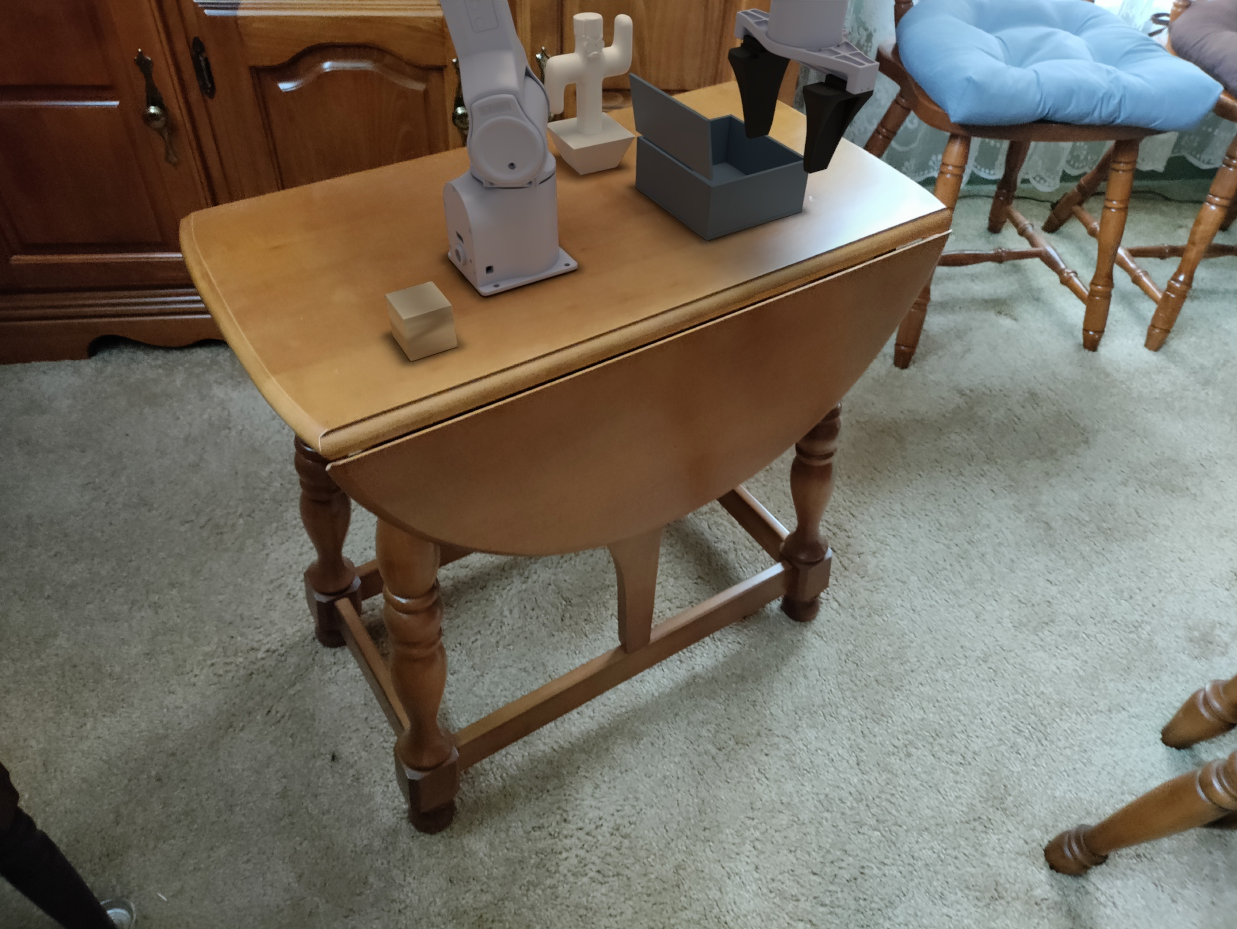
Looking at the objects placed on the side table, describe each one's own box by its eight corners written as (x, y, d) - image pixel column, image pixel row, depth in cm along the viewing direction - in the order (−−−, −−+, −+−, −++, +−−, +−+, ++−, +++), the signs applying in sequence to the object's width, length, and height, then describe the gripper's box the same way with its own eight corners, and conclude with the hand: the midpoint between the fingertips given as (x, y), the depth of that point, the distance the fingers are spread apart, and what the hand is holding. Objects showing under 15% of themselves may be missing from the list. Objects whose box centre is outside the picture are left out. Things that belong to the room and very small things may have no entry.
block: (410, 361, 68) (402, 319, 65) (392, 336, 70) (384, 294, 67) (458, 346, 69) (452, 304, 66) (438, 322, 72) (432, 280, 69)
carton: (706, 240, 82) (711, 187, 78) (635, 187, 90) (636, 136, 86) (801, 211, 87) (811, 159, 83) (726, 163, 94) (731, 113, 91)
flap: (713, 179, 78) (710, 181, 78) (638, 129, 86) (635, 130, 86) (710, 119, 74) (706, 120, 74) (631, 72, 81) (628, 73, 81)
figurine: (536, 158, 94) (528, 10, 84) (612, 142, 98) (613, -3, 87) (565, 185, 90) (560, 32, 80) (643, 167, 93) (649, 18, 83)
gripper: (926, -10, 60) (881, 175, 70) (792, -57, 69) (768, 113, 78) (851, 4, 57) (814, 195, 67) (721, -47, 66) (705, 128, 76)
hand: (785, 152), depth 72 cm, fingers open, 7 cm apart
